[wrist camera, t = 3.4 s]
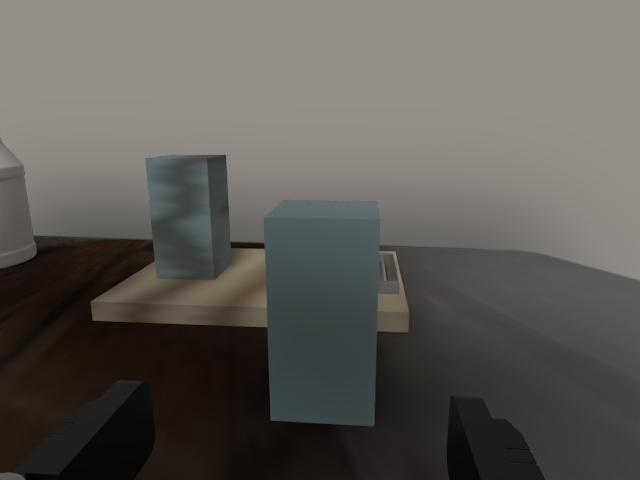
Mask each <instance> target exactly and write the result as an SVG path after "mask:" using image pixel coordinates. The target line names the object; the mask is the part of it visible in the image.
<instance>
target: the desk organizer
mask: <svg viewBox="0 0 640 480" xmlns="http://www.w3.org/2000/svg"><path fill="white" fill-rule="evenodd" d="M146 169H147V181H148V191H149V201H150V213H151V224H152V234H153V246H154V256H155V262H153V263H152V264H150V265H148V266H147V267H145V268H144V269H142V270H140V271H139V272H137V273H135V274H134V275H132V276H131V277H129V278H127V279H126V280H124V281H123V282H121V283H119V284H118V285H116V286H115V287H113V288H111V289H110V290H108V291H107V292H105V293H103V294H102V295H100V296H99V297H97V298H95V299H94V300H92V301H91V310H92V318H93V321H114V322H140V323H167V324H193V325H220V326H246V327H267V297H266V267H265V249H240V248H231V244H230V225H229V206H228V188H227V167H226V155H168V156H160V157H153V158H146ZM408 330H409V309H408V305H407V300H406V296H405V292H404V288H403V283H402V279H401V275H400V270H399V266H398V262H397V258H396V253H395V252H383V251H379V275H378V313H377V331H379V332H406V333H408Z"/></svg>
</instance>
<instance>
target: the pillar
mask: <svg viewBox="0 0 640 480" xmlns="http://www.w3.org/2000/svg"><path fill="white" fill-rule="evenodd" d="M379 236H380V216H379V209H378V204H377V201H299V200H297V201H295V200H284V201H283V202H281V203H280V204H279V205H278V206H277V207H276V208H274V209H273V210H272V211H271V212H270V213H269V214H267V215H266V216H265V217H264V238H265V267H266V297H267V327H268V357H269V386H270V416H271V421H289V422H306V423H323V424H341V425H358V426H374V424H375V387H376V350H377V313H378V275H379V238H380V237H379Z"/></svg>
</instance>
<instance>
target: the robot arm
mask: <svg viewBox="0 0 640 480" xmlns="http://www.w3.org/2000/svg"><path fill="white" fill-rule="evenodd" d="M154 440H155V427H154V417H153V408H152V398H151V389H150V386H149V384H148V382H146V381H126V380H119V381H116V382H115V383H114V384H113V385H112V386H111V387H110V388H109V389H108V390H107V391H106V392H105V393H104V394H103V395H102V396H101V397H100V398H95V399H94V400H92V401H90V402H88V403H87V404H85V405H83V406H81V407H80V408H78V409H76V410H75V411H74V412H73V413H72V414H71V415H70V416H69V417H68V418H67V419H66V420H65V421H64V422H63V425H60V426H59V427H58V428H57V429H55V430H54V431H53V432H52V435H51V436H48V437H47V438H46V439H45V440H44V441H43V442H42V443H41V444H40V445H39V446H38V447H37V448H36V449H35V450H34V451H32V452H31V453H30V454H29V455H28V456H27V457H26V458H25V459H24V460H23V461H22V462H21V463H20V464H19V465H18V466H17V467H16V468H15V469H14V470H13V471H12V472H11V473H0V480H134V479H135V478H136V476H137V475H138V473H139V472H140V470H141V469H142V467H143V466H144V464H145V463H146V461H147V460H148V458H149V456H150V454H151V452H152V449H153V446H154ZM447 466H448V474H449V479H450V480H545V478H544V476H543V474H542V473H541V471H540V469H539V467H538V466H537V465H536V461H535V459H534V457H533V455H532V453H531V452H530V449H529V447H528V445H527V443H526V441H525V439H524V438H523V436H522V434H521V433H520V432H519V431H518V430H517V429H516V428H515V427H514V426H513V425H511V424H510V423H509V422H508V421H507V420H506V419H492V418H491V416H490V414H489V411H488V409H487V407H486V404H485V402H484V400H483V398H481V397H462V396H452V397H451V399H450V408H449V425H448V441H447Z"/></svg>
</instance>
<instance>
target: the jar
mask: <svg viewBox="0 0 640 480" xmlns="http://www.w3.org/2000/svg"><path fill="white" fill-rule="evenodd" d="M24 174H25V173H24V166H23V164H22V163H21V162H20V161H19V160H18V159H17V158H16V157H15V155H14V154H13V153H12V152H10V150H9V149H8V148H7V147H6V146H5V145H4V144H3V143H2V141H1V138H0V269H4V268H8V267H11V266H15V265H18V264H21V263H24V262H26V261H28V260H30V259H32V258H33V257H34V256H35V255H36V254H37V250H36V244H35V241H34V237H33V231H32V225H31V218H30V212H29V205H28V199H27V192H26V186H25V180H24Z"/></svg>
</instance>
